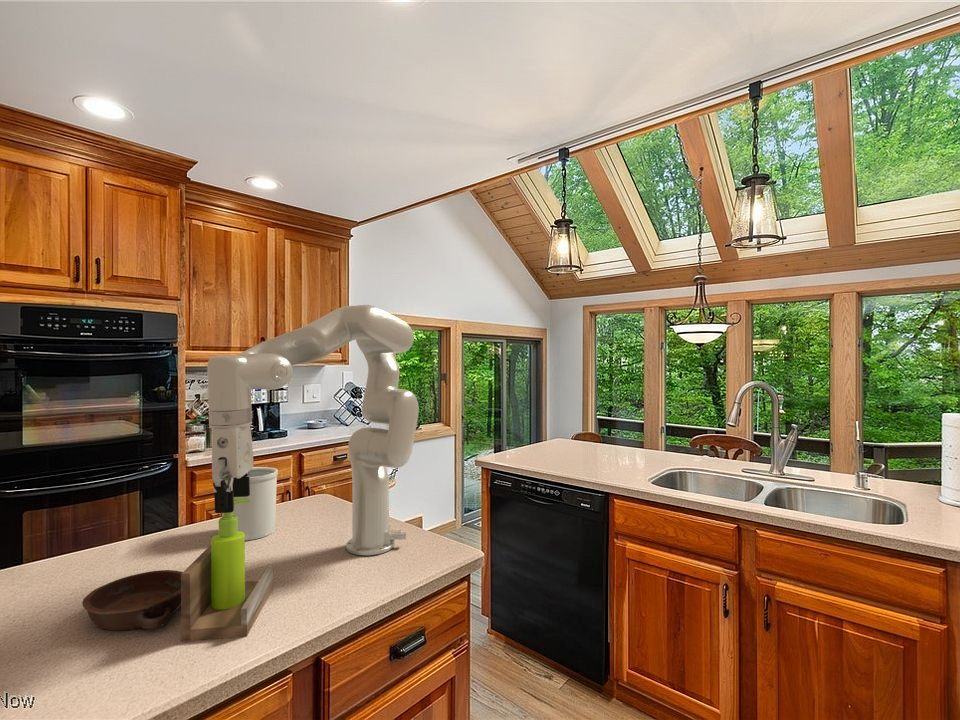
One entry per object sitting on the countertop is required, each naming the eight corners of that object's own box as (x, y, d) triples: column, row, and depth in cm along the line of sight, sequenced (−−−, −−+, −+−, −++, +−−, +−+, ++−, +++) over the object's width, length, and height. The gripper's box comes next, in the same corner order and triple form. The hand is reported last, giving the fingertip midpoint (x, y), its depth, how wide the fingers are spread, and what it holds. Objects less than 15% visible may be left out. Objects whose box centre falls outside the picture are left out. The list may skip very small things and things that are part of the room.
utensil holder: (241, 522, 148) (241, 465, 148) (287, 525, 146) (287, 466, 146) (208, 540, 134) (208, 477, 134) (258, 543, 132) (258, 479, 132)
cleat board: (272, 589, 106) (272, 534, 106) (246, 636, 88) (246, 570, 88) (218, 592, 104) (218, 537, 104) (181, 641, 86) (181, 574, 86)
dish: (162, 581, 110) (162, 559, 110) (213, 611, 97) (213, 586, 97) (64, 615, 95) (64, 590, 95) (108, 655, 83) (108, 625, 83)
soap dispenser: (255, 599, 97) (255, 499, 97) (217, 613, 92) (217, 507, 92) (243, 590, 101) (243, 494, 101) (206, 602, 96) (206, 501, 96)
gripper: (236, 424, 88) (239, 518, 89) (263, 411, 105) (265, 490, 106) (191, 426, 87) (194, 521, 87) (226, 412, 104) (228, 492, 105)
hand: (233, 504), depth 97 cm, fingers open, 9 cm apart
